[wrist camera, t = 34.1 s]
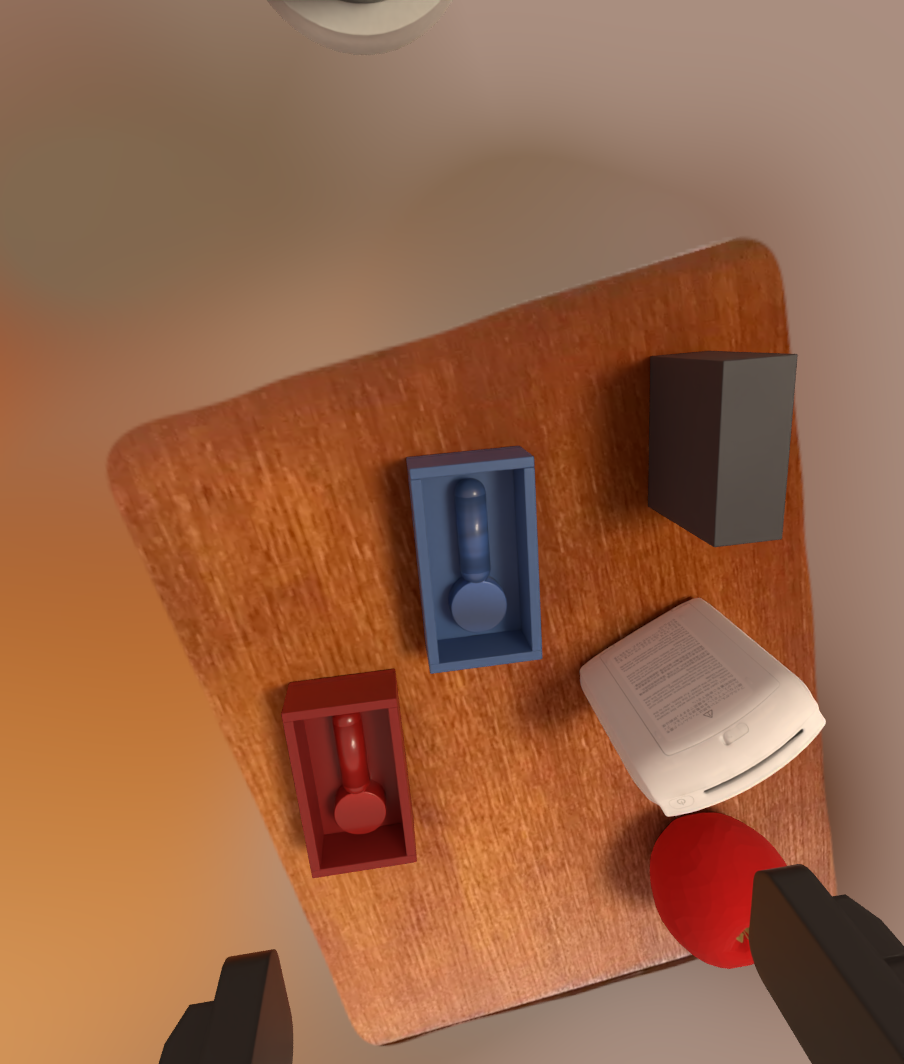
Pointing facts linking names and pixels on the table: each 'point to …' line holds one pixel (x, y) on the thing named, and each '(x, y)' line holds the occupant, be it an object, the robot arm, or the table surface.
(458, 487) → the blue spoon
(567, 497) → the table surface
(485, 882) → the table surface
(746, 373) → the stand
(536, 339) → the table surface
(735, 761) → the photo printer
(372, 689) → the red bin
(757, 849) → the fruit
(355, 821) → the red spoon
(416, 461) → the blue bin
